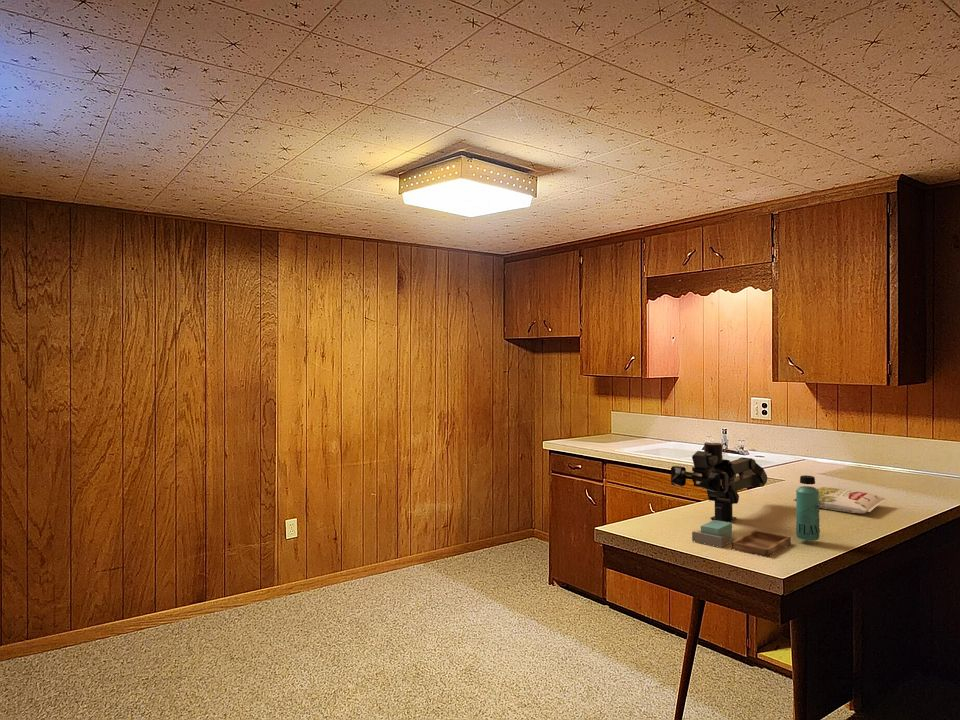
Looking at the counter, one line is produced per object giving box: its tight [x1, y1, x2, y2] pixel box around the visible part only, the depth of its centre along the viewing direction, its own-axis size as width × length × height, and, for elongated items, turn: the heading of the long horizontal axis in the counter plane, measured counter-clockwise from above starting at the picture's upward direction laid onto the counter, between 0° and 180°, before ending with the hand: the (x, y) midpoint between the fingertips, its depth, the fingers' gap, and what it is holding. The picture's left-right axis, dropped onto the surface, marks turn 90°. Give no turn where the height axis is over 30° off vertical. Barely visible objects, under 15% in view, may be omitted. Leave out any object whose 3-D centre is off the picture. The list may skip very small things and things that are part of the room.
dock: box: [691, 530, 732, 548], centre depth 197 cm, size 7×9×3 cm
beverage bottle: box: [795, 475, 821, 542], centre depth 195 cm, size 6×7×20 cm
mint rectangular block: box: [700, 519, 733, 539], centre depth 200 cm, size 10×6×5 cm, turn 134°
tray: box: [730, 530, 792, 558], centre depth 192 cm, size 17×11×2 cm, turn 134°
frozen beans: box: [792, 486, 887, 514], centre depth 235 cm, size 21×6×25 cm
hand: (685, 483), depth 204 cm, fingers open, 9 cm apart
